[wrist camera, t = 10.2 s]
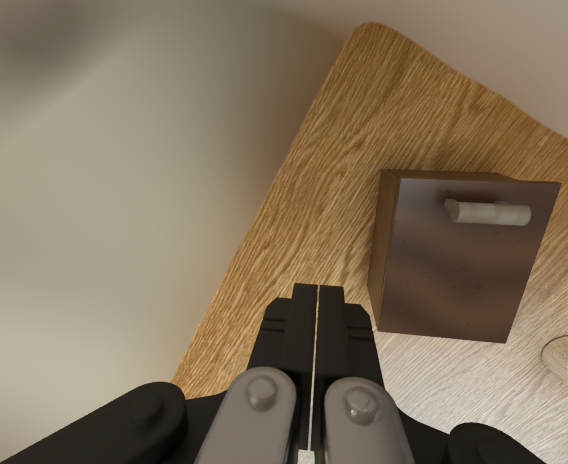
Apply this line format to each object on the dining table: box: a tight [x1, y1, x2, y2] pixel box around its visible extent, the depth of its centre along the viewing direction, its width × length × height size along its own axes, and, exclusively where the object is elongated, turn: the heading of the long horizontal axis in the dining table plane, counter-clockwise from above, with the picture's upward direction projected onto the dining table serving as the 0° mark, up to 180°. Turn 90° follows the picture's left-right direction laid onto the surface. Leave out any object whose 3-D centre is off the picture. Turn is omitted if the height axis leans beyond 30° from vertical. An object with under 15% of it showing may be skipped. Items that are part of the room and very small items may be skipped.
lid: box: [377, 176, 561, 344], centre depth 27 cm, size 16×13×4 cm
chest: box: [367, 169, 517, 326], centre depth 34 cm, size 16×13×9 cm
